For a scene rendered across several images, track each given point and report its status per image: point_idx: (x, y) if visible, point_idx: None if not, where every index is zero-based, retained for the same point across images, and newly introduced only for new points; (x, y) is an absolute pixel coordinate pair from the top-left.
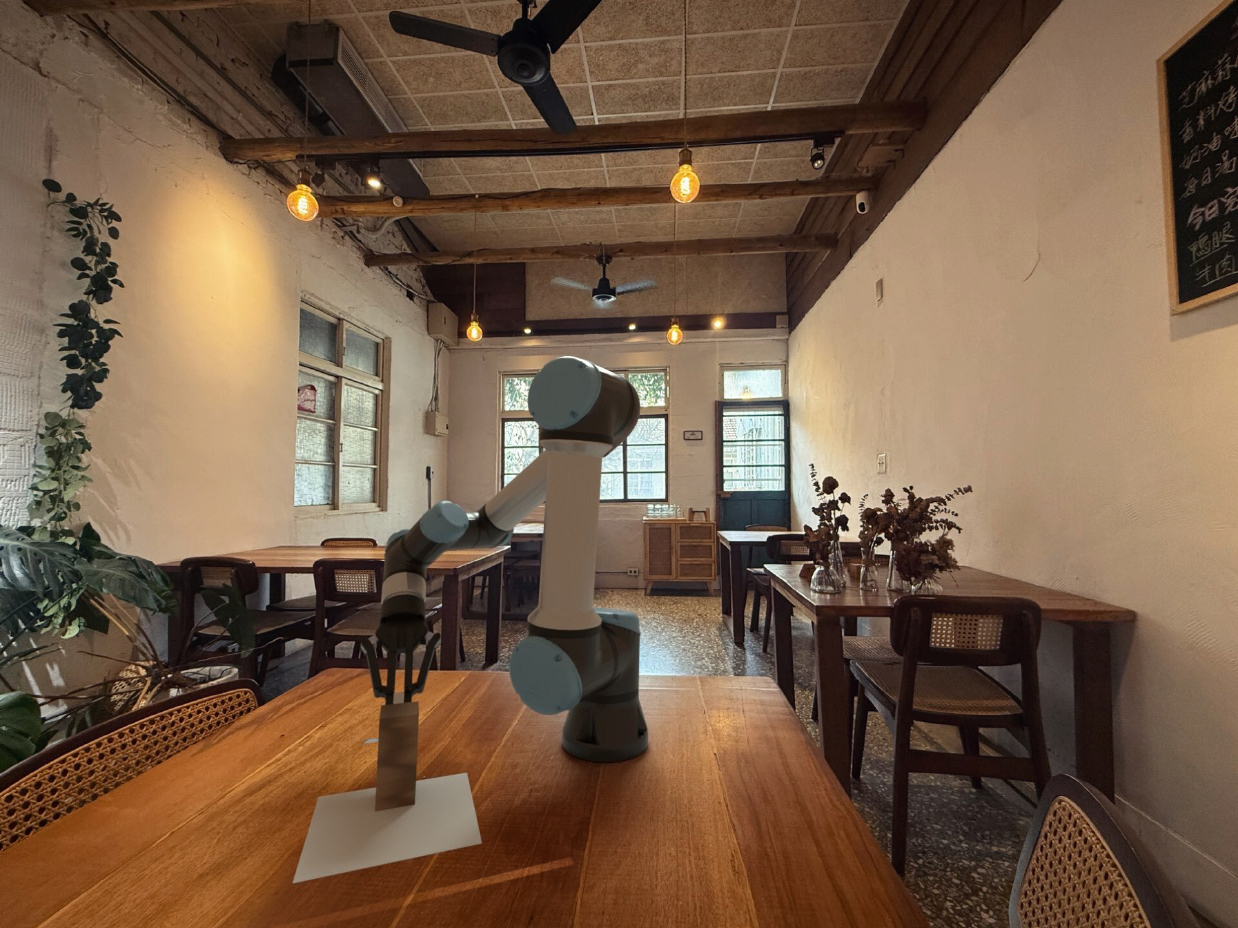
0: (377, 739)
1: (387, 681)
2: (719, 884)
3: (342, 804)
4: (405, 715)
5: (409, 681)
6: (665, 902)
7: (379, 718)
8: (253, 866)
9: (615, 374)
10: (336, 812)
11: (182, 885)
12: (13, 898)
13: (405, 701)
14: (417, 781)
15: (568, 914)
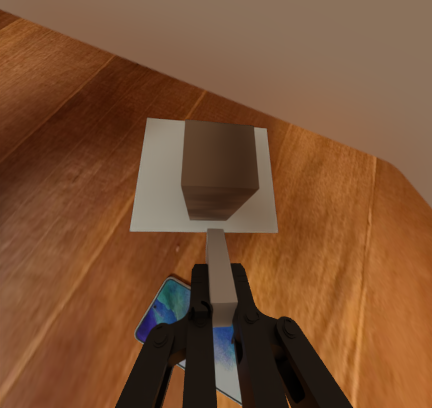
0: (237, 396)
1: (269, 350)
2: (16, 38)
3: (254, 210)
4: (209, 123)
5: (196, 344)
6: (60, 42)
7: (253, 126)
8: (294, 160)
9: None
10: (256, 198)
11: (326, 158)
12: (407, 181)
13: (205, 288)
14: (186, 229)
15: (118, 57)
